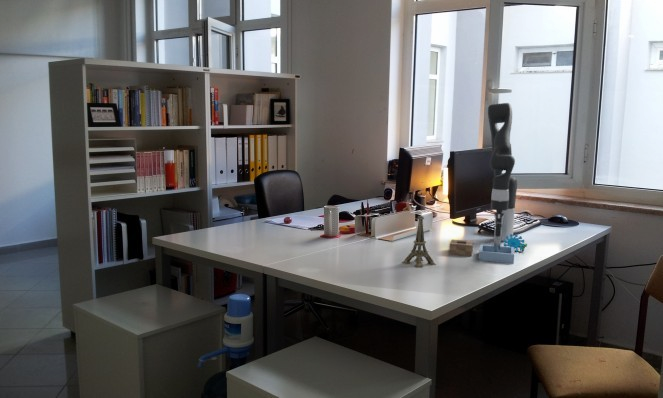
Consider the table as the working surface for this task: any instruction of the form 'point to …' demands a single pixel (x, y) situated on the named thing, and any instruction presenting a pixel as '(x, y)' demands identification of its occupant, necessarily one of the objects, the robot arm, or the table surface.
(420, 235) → the eiffel tower
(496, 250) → the peg
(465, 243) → the pin block
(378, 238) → the table surface
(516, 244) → the gear
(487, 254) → the tray
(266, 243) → the table surface
